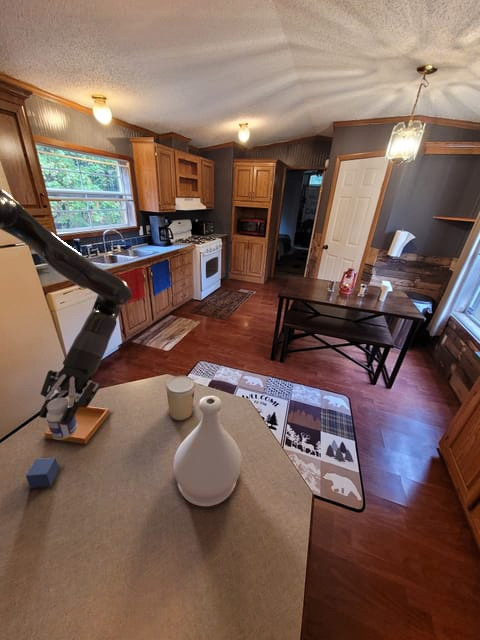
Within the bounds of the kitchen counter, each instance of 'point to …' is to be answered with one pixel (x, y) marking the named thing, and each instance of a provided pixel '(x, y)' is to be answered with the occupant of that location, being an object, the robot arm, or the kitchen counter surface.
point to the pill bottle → (54, 417)
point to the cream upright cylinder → (180, 396)
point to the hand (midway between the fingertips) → (53, 420)
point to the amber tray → (85, 423)
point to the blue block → (42, 472)
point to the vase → (207, 459)
